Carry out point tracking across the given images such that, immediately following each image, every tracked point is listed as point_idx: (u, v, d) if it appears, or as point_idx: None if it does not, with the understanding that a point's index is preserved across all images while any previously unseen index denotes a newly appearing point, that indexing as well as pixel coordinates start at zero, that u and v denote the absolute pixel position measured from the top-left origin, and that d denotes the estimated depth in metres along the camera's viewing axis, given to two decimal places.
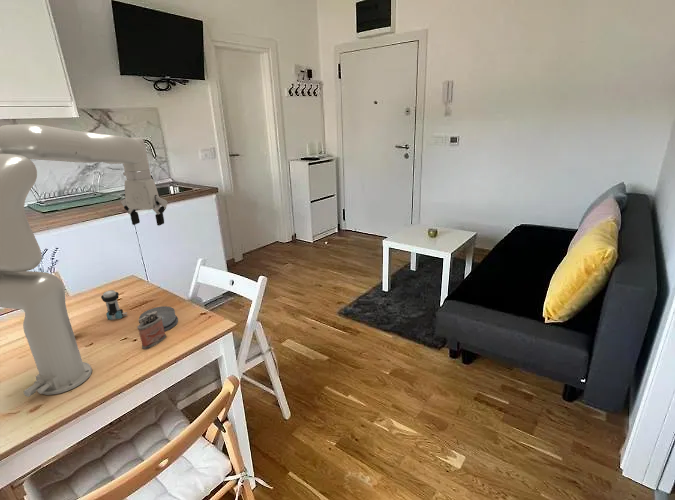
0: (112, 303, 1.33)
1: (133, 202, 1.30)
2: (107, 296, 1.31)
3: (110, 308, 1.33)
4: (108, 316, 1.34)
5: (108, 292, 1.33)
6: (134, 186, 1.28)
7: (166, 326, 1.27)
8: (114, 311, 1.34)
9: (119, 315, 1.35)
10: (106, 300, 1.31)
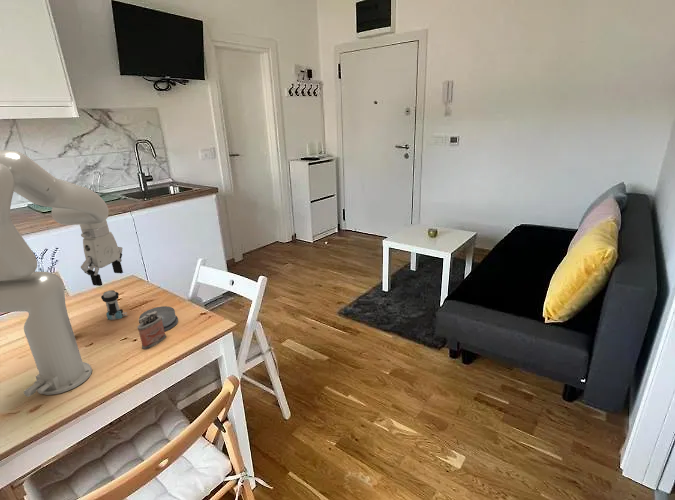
0: (112, 303, 1.33)
1: (105, 258, 1.26)
2: (107, 296, 1.31)
3: (110, 308, 1.33)
4: (108, 316, 1.34)
5: (108, 292, 1.33)
6: (105, 241, 1.26)
7: (166, 326, 1.27)
8: (114, 311, 1.34)
9: (119, 315, 1.35)
10: (106, 300, 1.31)
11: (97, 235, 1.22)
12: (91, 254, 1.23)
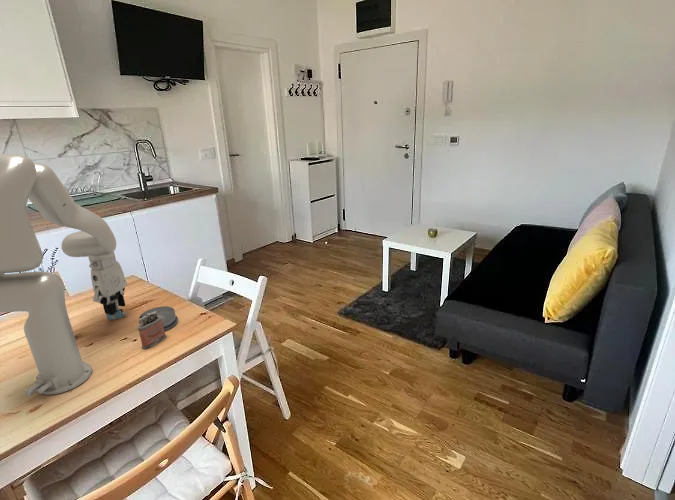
0: (112, 303, 1.33)
1: (112, 287, 1.29)
2: None
3: None
4: (108, 316, 1.34)
5: None
6: (112, 271, 1.29)
7: (166, 326, 1.27)
8: (114, 311, 1.34)
9: (119, 315, 1.35)
10: None
11: (105, 265, 1.26)
12: (98, 284, 1.26)
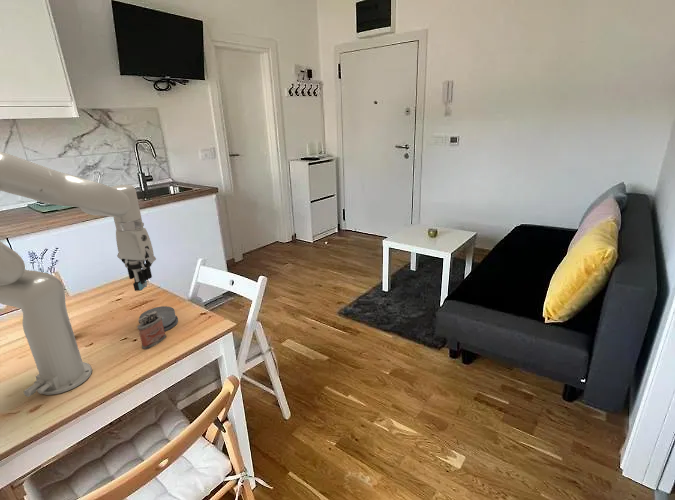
0: (140, 270, 1.25)
1: None
2: None
3: (141, 275, 1.25)
4: (141, 286, 1.24)
5: (133, 260, 1.23)
6: None
7: (166, 326, 1.27)
8: None
9: (145, 282, 1.28)
10: None
11: None
12: (148, 243, 1.21)
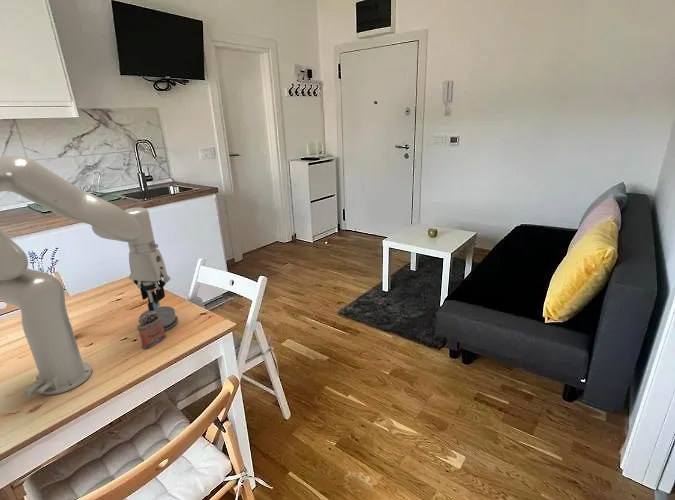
0: (153, 290, 1.26)
1: None
2: None
3: (155, 295, 1.26)
4: (155, 306, 1.26)
5: None
6: None
7: (166, 326, 1.27)
8: None
9: (158, 301, 1.29)
10: None
11: None
12: (162, 263, 1.23)
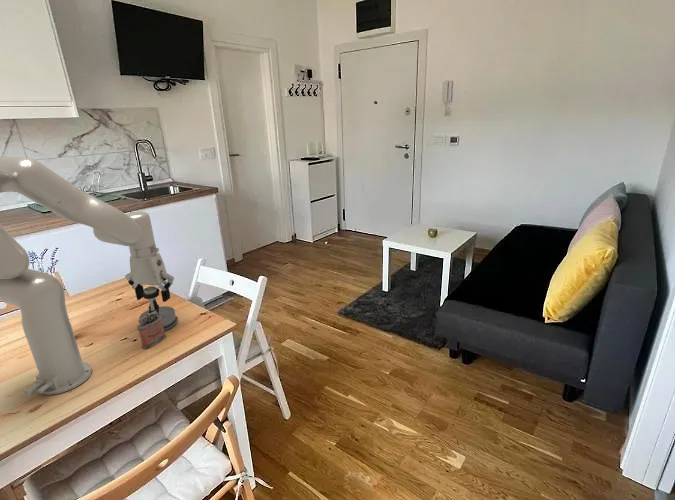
0: (154, 298, 1.27)
1: None
2: (155, 290, 1.25)
3: (156, 303, 1.27)
4: None
5: (149, 289, 1.25)
6: None
7: (166, 326, 1.27)
8: None
9: (159, 309, 1.30)
10: (158, 293, 1.26)
11: None
12: (163, 267, 1.24)
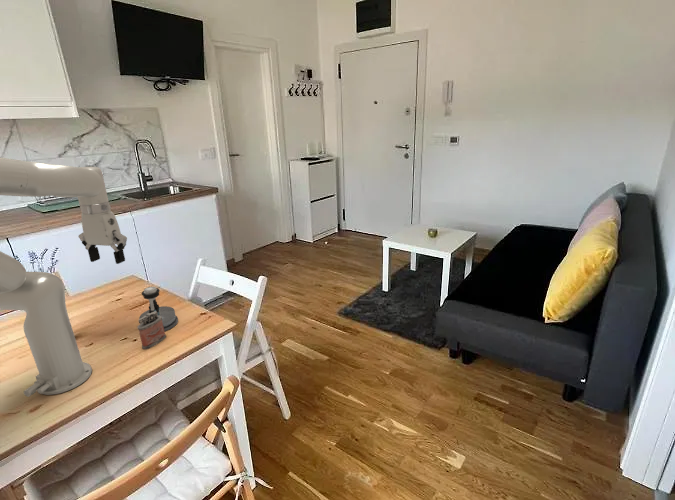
0: (154, 298, 1.27)
1: None
2: (155, 290, 1.25)
3: (156, 303, 1.27)
4: None
5: (149, 289, 1.25)
6: None
7: (166, 326, 1.27)
8: None
9: (159, 309, 1.30)
10: (158, 293, 1.26)
11: None
12: (116, 227, 1.18)
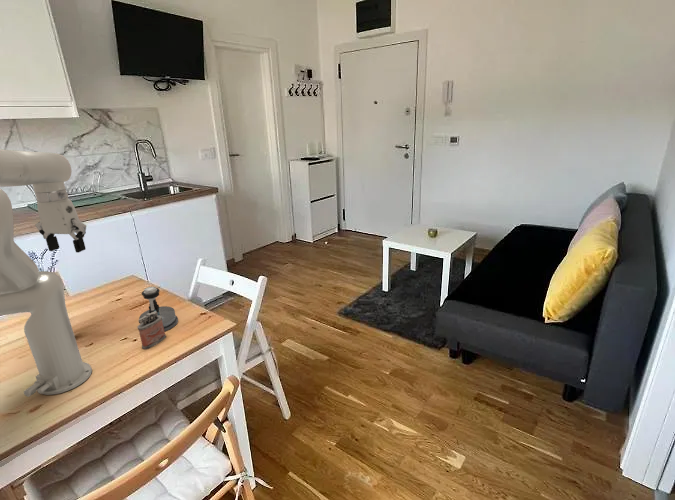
0: (154, 298, 1.27)
1: None
2: (155, 290, 1.25)
3: (156, 303, 1.27)
4: None
5: (149, 289, 1.25)
6: None
7: (166, 326, 1.27)
8: None
9: (159, 309, 1.30)
10: (158, 293, 1.26)
11: None
12: (74, 215, 1.16)
